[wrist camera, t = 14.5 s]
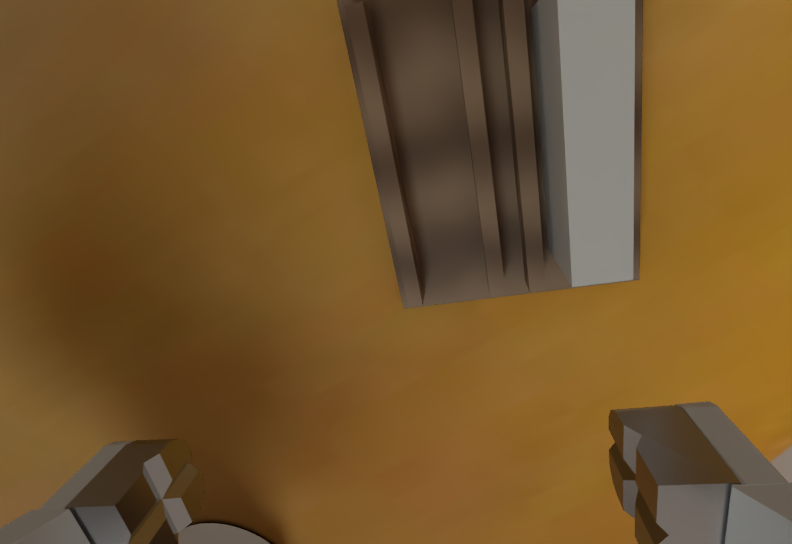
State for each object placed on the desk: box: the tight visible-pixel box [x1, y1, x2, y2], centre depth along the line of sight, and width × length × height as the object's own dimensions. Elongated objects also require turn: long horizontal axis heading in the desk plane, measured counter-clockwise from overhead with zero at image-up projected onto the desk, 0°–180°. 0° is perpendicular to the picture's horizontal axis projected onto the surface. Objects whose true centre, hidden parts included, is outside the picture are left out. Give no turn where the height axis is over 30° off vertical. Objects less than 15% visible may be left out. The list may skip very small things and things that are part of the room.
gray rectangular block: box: [531, 0, 635, 287], centre depth 22 cm, size 14×3×6 cm, turn 12°
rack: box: [337, 0, 643, 308], centre depth 25 cm, size 20×16×3 cm
